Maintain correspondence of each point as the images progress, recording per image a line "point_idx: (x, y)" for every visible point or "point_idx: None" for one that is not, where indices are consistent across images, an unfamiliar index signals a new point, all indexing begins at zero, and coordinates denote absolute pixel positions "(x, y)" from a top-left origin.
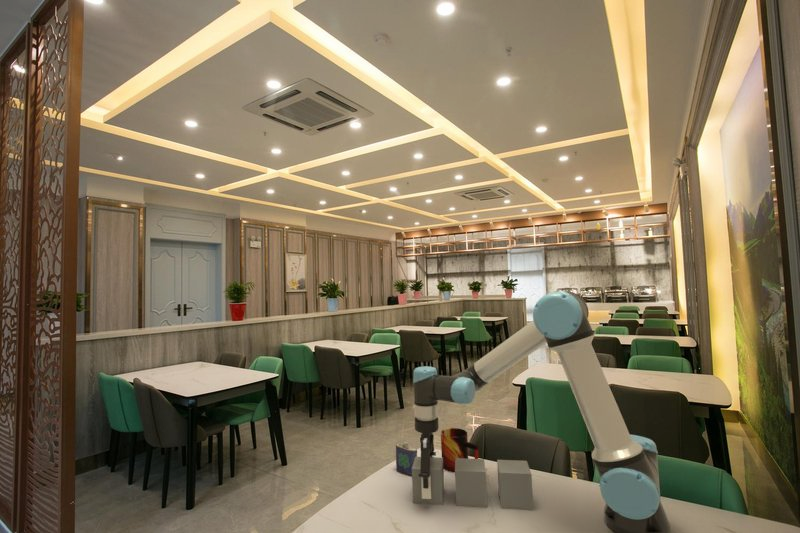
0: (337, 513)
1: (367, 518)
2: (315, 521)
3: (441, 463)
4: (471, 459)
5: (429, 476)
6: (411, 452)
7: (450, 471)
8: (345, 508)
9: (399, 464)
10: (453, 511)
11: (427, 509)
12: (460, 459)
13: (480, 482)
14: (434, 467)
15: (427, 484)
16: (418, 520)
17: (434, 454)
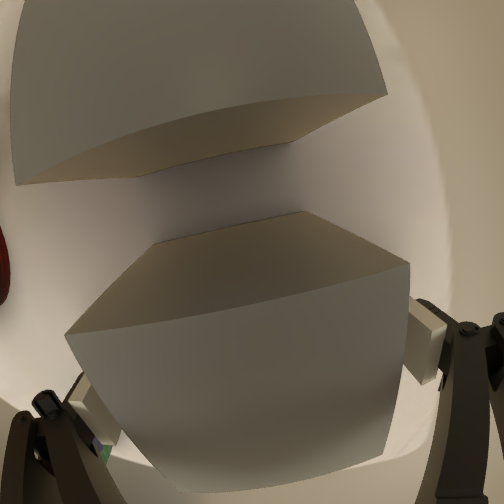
0: (387, 449)
1: (412, 400)
2: (410, 452)
3: (222, 319)
4: (32, 20)
5: (464, 323)
6: None
7: (8, 263)
8: None
9: (110, 452)
10: (346, 147)
11: None
12: (32, 113)
13: None
14: (357, 354)
15: (437, 311)
16: (425, 274)
17: (54, 405)
